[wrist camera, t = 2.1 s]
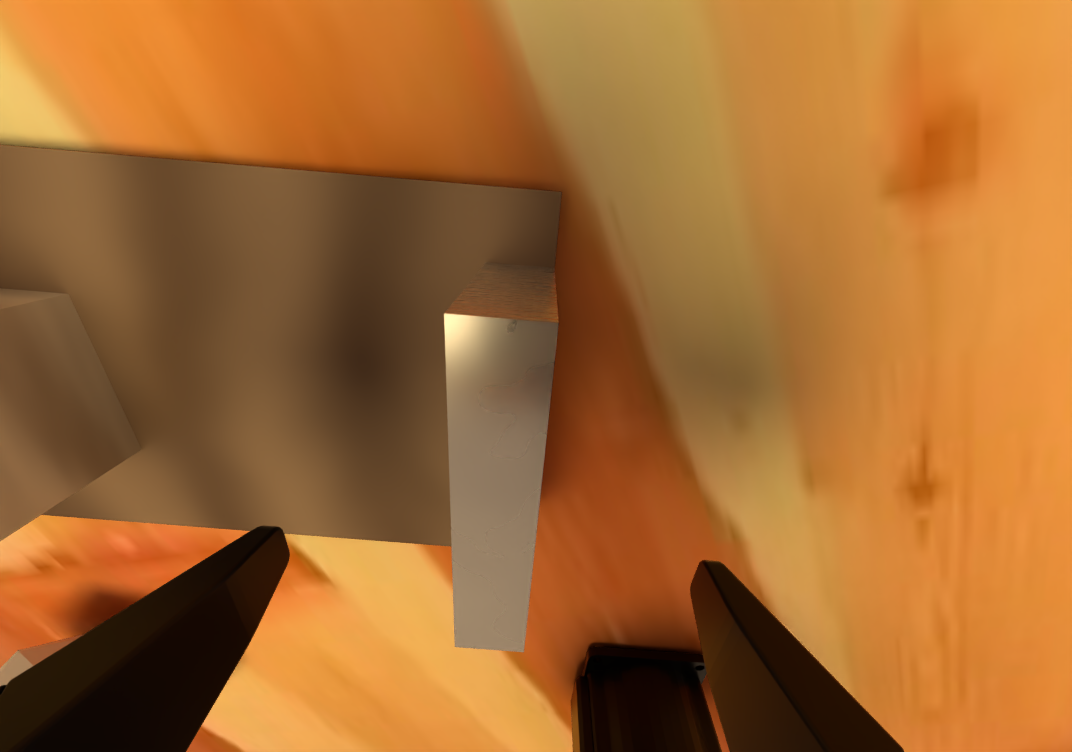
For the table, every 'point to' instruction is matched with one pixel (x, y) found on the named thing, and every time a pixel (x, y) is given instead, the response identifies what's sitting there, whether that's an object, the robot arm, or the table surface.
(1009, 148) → the table surface
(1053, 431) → the table surface
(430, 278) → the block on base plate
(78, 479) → the cube
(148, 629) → the robot arm
